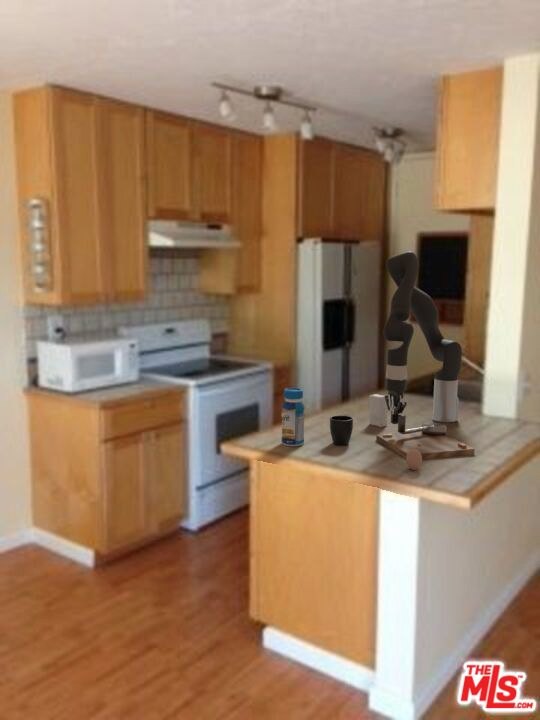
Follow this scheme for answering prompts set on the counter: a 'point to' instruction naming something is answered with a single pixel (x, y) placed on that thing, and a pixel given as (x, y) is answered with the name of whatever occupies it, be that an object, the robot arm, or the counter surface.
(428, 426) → the crank handle
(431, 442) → the board
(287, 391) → the beverage bottle
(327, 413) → the counter surface
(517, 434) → the counter surface
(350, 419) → the mug
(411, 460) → the egg
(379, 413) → the skincare box
